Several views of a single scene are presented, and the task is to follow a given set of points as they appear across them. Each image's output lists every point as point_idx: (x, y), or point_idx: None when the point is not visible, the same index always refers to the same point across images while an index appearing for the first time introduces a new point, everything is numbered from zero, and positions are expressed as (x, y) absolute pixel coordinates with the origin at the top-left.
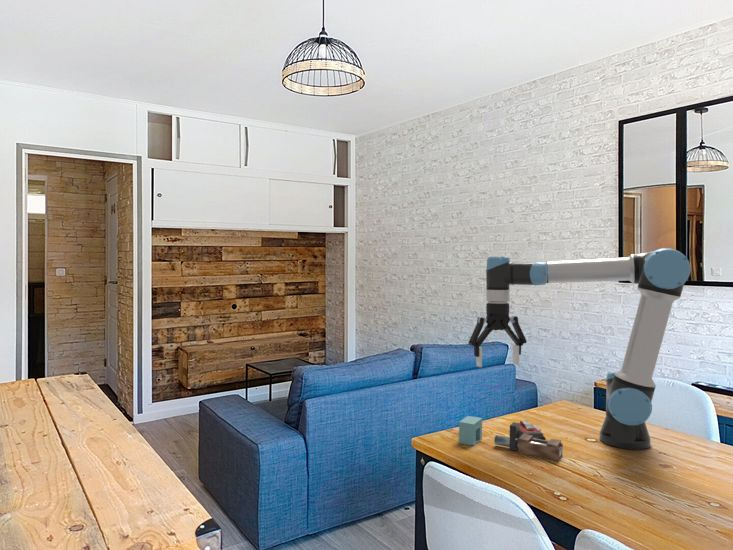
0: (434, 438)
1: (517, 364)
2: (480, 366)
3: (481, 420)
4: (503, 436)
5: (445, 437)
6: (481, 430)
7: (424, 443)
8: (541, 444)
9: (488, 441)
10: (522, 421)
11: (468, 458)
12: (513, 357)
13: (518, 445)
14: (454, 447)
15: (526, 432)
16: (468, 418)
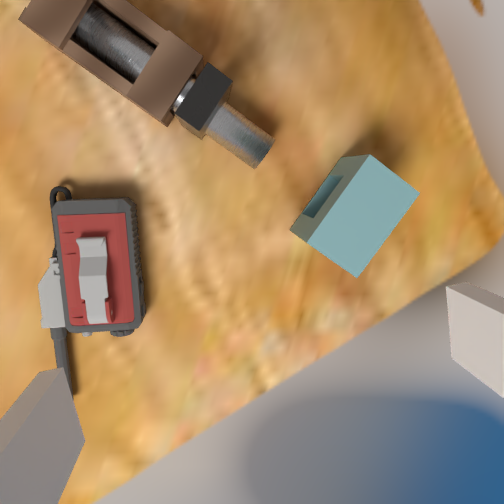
0: (450, 240)
1: (55, 372)
2: (465, 284)
3: (309, 234)
4: (241, 134)
5: (410, 249)
6: (299, 229)
7: (496, 190)
8: (118, 9)
9: (273, 203)
10: (104, 309)
11: (395, 32)
12: (59, 480)
13: (202, 63)
14: (410, 146)
15: (120, 215)
16: (366, 239)
